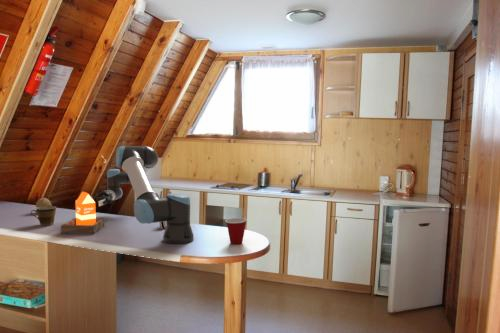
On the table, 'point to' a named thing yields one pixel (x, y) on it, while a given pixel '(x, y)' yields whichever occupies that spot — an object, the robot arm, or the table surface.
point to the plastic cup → (236, 230)
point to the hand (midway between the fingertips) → (87, 203)
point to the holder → (82, 227)
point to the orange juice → (85, 210)
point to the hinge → (163, 224)
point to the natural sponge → (43, 202)
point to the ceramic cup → (45, 215)
